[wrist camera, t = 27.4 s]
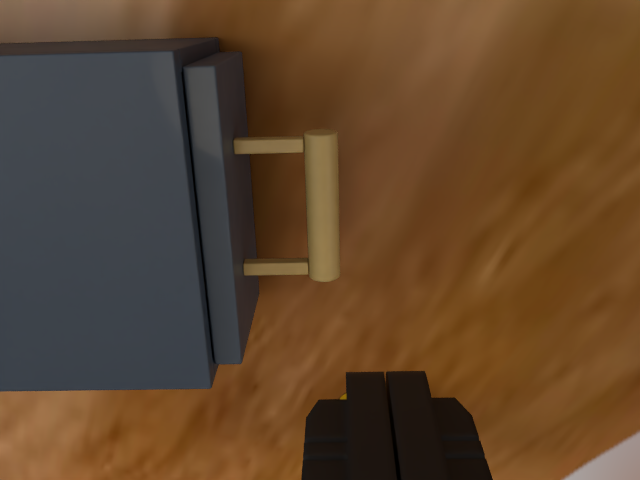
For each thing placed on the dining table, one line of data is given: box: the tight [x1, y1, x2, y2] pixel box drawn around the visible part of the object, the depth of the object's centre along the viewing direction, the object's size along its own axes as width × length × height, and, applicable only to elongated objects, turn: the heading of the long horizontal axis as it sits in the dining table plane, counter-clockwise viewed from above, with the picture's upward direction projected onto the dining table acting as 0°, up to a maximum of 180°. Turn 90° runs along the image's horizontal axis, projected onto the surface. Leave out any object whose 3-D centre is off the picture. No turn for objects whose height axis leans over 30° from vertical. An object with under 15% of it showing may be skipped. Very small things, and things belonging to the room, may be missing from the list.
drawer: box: [181, 52, 340, 364], centre depth 27 cm, size 20×12×7 cm, turn 92°
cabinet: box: [0, 37, 219, 391], centre depth 27 cm, size 17×14×9 cm
